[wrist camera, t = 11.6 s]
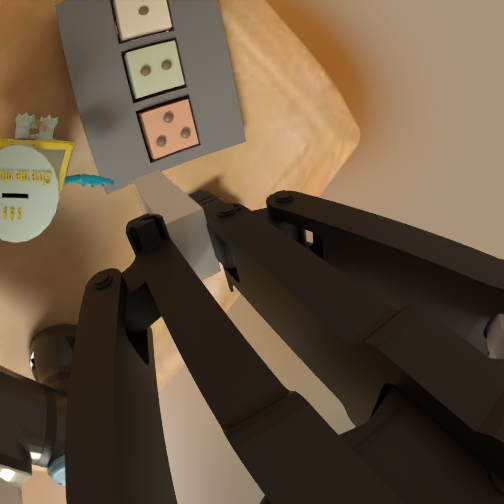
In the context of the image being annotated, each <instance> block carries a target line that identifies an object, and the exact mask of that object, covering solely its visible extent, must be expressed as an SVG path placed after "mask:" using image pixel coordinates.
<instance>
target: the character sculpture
mask: <svg viewBox="0 0 504 504" xmlns="http://www.w3.org/2000/svg"><path fill="white" fill-rule="evenodd" d="M34 116H35V114H33V115H31V116H29V115H28V112H26V113H25V114H24V115H20V114H18V116H17V117H16V118H15V121H16V130H15V138H16V139H17V140H14V139H8V138H0V147H5V148H3V149H1V150H0V239H1V240H4V241H9V242H14V243H17V242H24V241H28V240H30V239H32V238H34V237H36V236H38V235H40V234H41V233H42V232H43V231H44V230H45V229H46V228H47V227H48V226H49V224H50V222H51V220H52V218H53V216H54V215H55V213H56V209H57V206H58V202H59V198H60V194H61V192H62V187H63V184H64V185H65V184H66V183H72V182H73V183H80V184H82V186H85V185H86V184H90V185H91V187H94V185H102V186H103V187H104V184H111V185H112V186H113V185H114V181H113V180H112V179H111V180H110V178H104V177H101V176H95V175H91V176H90V175H86V174H83V175H80V174H79V175H76V176H75V175H73V176H67V177H66V173H67V170H68V162H69V158H70V155H71V151H72V149H74V146H75V142H70V141H62V140H57V139H55V138H54V137H53V132H54V128H55V127H56V125H57V123H58V117H56V118H53V119H52V117H51V115H50V114H49V115H48V116H47V117H46V118H43V117H42V116H41V118H40V119H35V117H34ZM30 129H39V134H32V135H30ZM65 150H66V151H65ZM65 177H66V178H65Z"/></svg>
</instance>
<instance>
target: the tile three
mask: <svg viewBox="0 0 504 504" xmlns="http://www.w3.org/2000/svg"><path fill="white" fill-rule="evenodd" d="M138 117H139V121H140V124H141V128H142V131H143V135H144V138H145V142H146V145H147V149H148V152H149V155H150V156H151V157H152V158H153V159H157V158H159V157H162V156H165V155H167V154H170V153H173V152H176V151H178V150H181V149H184V148H187V147H190V146H193V145H196V144H199V143H198V139H197V134H196V130H195V126H194V122H193V118H192V114H191V109H190V105H189V101H188V99H184V100H178V101H175V102H171V103H168V104H165V105H162V106H159V107H155V108H152V109H149V110H146V111H144V112H141V113H138Z"/></svg>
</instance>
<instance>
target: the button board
mask: <svg viewBox="0 0 504 504" xmlns="http://www.w3.org/2000/svg"><path fill="white" fill-rule="evenodd" d="M166 1H167V6H168V11H169V15H170V20H171V25H172V27H171V28H170V29H168V30H169V32H166V33H161V34H157V35H152V36H148V37H144V38H140V39H137V40H133V41H129V42H126V43H123V44H119V43H118V38H117V33H116V28H115V24H114V19H113V13H112V8H111V3H112V2H114V0H68V1H65V2H63V3H60V4H57V5H56V12H57V18H58V24H59V30H60V35H61V41H62V46H63V51H64V55H65V60H66V64H67V69H68V73H69V77H70V81H71V85H72V89H73V93H74V96H75V100H76V104H77V107H78V111H79V114H80V118H81V121H82V124H83V128H84V131H85V134H86V137H87V140H88V143H89V146H90V149H91V152H92V155H93V158H94V161H95V164H96V167H97V170H98V172H99V175H100V176H101V177H104V178H110V180H111V179H112V180H113V181H114V185H113V186H112V185H111V184H104V188H105V191H106V194H109V193H111V192H113V191H115V190H118V189H120V188H122V187H125V186H127V185H129V184H132V183H133V182H132V180H135V179H137V178H139V177H142V176H144V175H147V174H149V173H152V172H154V171H157V170H159V171H160V172H161V171H163V170H166V169H169V168H171V167H174V166H176V165H179V164H182V163H184V162H187V161H190V160H193V159H195V158H198V157H201V156H204V155H207V154H210V153H213V152H216V151H219V150H222V149H225V148H228V147H231V146H234V145H237V144H240V143H243V142H246V138H245V133H244V128H243V122H242V117H241V112H240V107H239V102H238V97H237V92H236V87H235V82H234V77H233V72H232V67H231V62H230V57H229V52H228V47H227V42H226V37H225V32H224V27H223V23H222V18H221V13H220V8H219V4H218V0H166ZM170 41H175V43H176V48H177V53H178V57H179V62H180V66H181V70H182V75H183V79H184V85H181V89H178V90H174V91H171V92H167V93H164V94H160V95H157V96H154V97H151V98H148V99H145V100H142V101H139V102H136V103H133V101H132V97H131V93H130V89H129V85H128V81H127V77H126V73H125V69H124V65H123V60H122V56H121V54H124V53H128V52H131V51H134V50H138V49H142V48H145V47H149V46H153V45H157V44H161V43H166V42H170ZM182 96H183V97H184V99H188V101H189V105H190V109H191V114H192V118H193V122H194V126H195V130H196V134H197V139H198V143H199V144H196V145H193V146H190V147H187V148H184V149H181V150H178V151H176V152H173V153H170V154H167V155H165V156H162V157H159V158H157V159H153V158H151V159H149V157H148V154H147V150H146V147H145V143H144V140H143V137H142V133H141V130H140V126H139V123H138V119H137V115H136V112H135V111H138V110H141V109H144V108H147V107H150V106H153V105H156V104H159V103H162V102H165V101H169V100H172V99H176V98H179V97H182Z"/></svg>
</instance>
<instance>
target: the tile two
mask: <svg viewBox="0 0 504 504" xmlns="http://www.w3.org/2000/svg"><path fill="white" fill-rule="evenodd" d="M123 58H124V62H125V67H126V71H127V75H128V79H129V83H130V87H131V91H132V95H133V99H137V98H140V97H143V96H146V95H150V94H153V93H156V92H159V91H163V90H166V89H170V88H173V87H177V86H180V85H184V79H183V75H182V70H181V66H180V62H179V57H178V53H177V48H176V43H175V41H170V42H166V43H162V44H158V45H154V46H150V47H146V48H142V49H138V50H135V51H131V52H128V53H126V54H125V55H124V57H123Z"/></svg>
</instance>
